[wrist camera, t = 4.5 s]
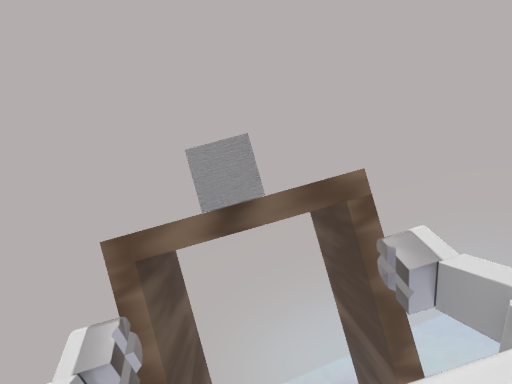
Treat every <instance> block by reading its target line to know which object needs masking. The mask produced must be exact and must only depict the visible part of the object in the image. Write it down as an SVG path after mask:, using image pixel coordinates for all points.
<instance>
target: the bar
mask: <svg viewBox="0 0 512 384" xmlns="http://www.w3.org/2000/svg"><path fill="white" fill-rule="evenodd" d="M185 152H186V156H187V159H188V163H189V167H190V170H191V174H192V178H193V181H194V185H195V188H196V192H197V196H198V199H199V203H200V207H201V210H202V213H204V212H208V211H213V210H217V209H221V208H225V207H228V206H232V205H235V204H239V203H243V202H246V201H250V200H253V199H256V198H259V197H262V196H264V195H265V193H264V190H263V186H262V183H261V179H260V176H259V172H258V169H257V165H256V162H255V158H254V154H253V150H252V147H251V143H250V140H249V136H248V133H247V134H243V135H240V136H235V137H231V138H228V139H224V140H220V141H216V142H213V143H209V144H205V145H202V146H198V147H194V148H190V149H186V150H185Z"/></svg>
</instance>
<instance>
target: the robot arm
mask: <svg viewBox="0 0 512 384" xmlns="http://www.w3.org/2000/svg"><path fill="white" fill-rule="evenodd" d="M377 250H378V252H379V253H380V254H381V255H380V257H379V258H378V260H377V263H378V270H379V273H380V276H381V278H382V280H383V282H384V283H385V284H386V286H387V287H388V288H389V289H391V290H394V291H396V299H397V300H398V302H399V303H400V304H401V305H402V307H403V308H404V309H405V311H406V312H407V313H408V314H409V315H410V314H413V313H417V312H420V311H423V310H427V309H430V308H434V307H436V309H438V310H439V311H441V312H443V313H445V314H447V315H448V316H450V317H452V318H454V319H456V320H458V321H460V322H462V323H463V324H465V325H467V326H469V327H471V328H473V329H475V330H476V331H478V332H480V333H482V334H484V335H486V336H488V337H489V338H491V339H493V340H495V341H497V342H499V343H501V344H500V348H499V353H497V354H494V355H492V356H489V357H486V358H483V359H480V360H477V361H474V362H471V363H468V364H465V365H462V366H459V367H456V368H453V369H450V370H447V371H444V372H441V373H438V374H435V375H432V376H429V377H426V378H423V379H420V380H417V381H414V382H411V383H408V384H512V268H511V267H508V266H504V265H501V264H497V263H494V262H491V261H487V260H484V259H481V258H477V257H474V256H470V255H467V254H462V255H459V254H458V253H457V252H456V251H455V250H453V249H452V248H451V247H450V246H448V245H447V244H446V243H445V242H444V241H443V240H441V239H440V238H439V237H438V236H437V235H435V234H434V233H433V232H432V231H431V230H429V229H428V228H427V227H426V226H422V225H421V226H418V227H415V228H412V229H409V230H407V231H403V232H400V233H397V234H394V235H390V236H387V237H384V238H381V239H378V240H377ZM130 325H131V324H130V323H129V321H128V320H127V318H126V317H120V318H116V319H112V320H109V321H106V322H102V323H98V324H95V325H91V326H89V327H85V328H81V329H78V330H74V331H73V332H72V333H71V334H70V335H69V338H68V340H67V343H66V346H65V349H64V351H63V354H62V357H61V359H60V362H59V365H58V368H57V370H56V373H55V375H54V378H53V381H52V382H51V383H48V384H139V383H140V379H139V377H138V376H137V374H136V373H137V371H138V370H139V369H140V367H141V366H142V358H143V355H142V346H141V343H140V340H139V338H138V336H137V334H135V333H133V332H130Z"/></svg>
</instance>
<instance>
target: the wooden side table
mask: <svg viewBox="0 0 512 384" xmlns="http://www.w3.org/2000/svg"><path fill="white" fill-rule="evenodd" d="M307 212H310V213H311V217H312V220H313V224H314V227H315V231H316V234H317V238H318V241H319V245H320V249H321V252H322V256H323V259H324V262H325V266H326V270H327V273H328V277H329V280H330V284H331V287H332V291H333V294H334V298H335V302H336V305H337V309H338V312H339V316H340V319H341V323H342V326H343V329H344V333H345V337H346V340H347V343H348V347H349V351H350V354H351V358H352V361H353V365H354V369H355V372H356V376H357V379H358V383H359V384H408V383H411V382H414V381H417V380H420V379H423V378H425V377H424V373H423V370H422V366H421V363H420V359H419V356H418V352H417V349H416V346H415V342H414V339H413V335H412V332H411V328H410V325H409V321H408V318H407V314H406V311H405V309H404V308H403V307H402V305H401V304H400V303H399V302H398V300H397V299H396V291H394V290H391V289H389V288H388V287H387V286H386V284H385V283H384V282H383V280H382V278H381V276H380V273H379V270H378V263H377V260H378V258H379V257H380V255H381V254H380V253H379V252H378V250H377V240H378V239H381V238H384V235H383V231H382V228H381V225H380V221H379V218H378V214H377V211H376V207H375V204H374V200H373V197H372V193H371V190H370V186H369V183H368V179H367V176H366V172H365V169H361V170H357V171H353V172H350V173H346V174H343V175H339V176H336V177H332V178H328V179H325V180H321V181H318V182H314V183H310V184H307V185H304V186H300V187H297V188H293V189H289V190H285V191H282V192H278V193H275V194H271V195H268V196H264V197H260V198H257V199H253V200H250V201H246V202H243V203H239V204H235V205H232V206H228V207H225V208H221V209H217V210H214V211H210V212H207V213H203V214H200V215H196V216H192V217H189V218H185V219H182V220H179V221H175V222H171V223H167V224H164V225H160V226H157V227H153V228H150V229H146V230H142V231H139V232H135V233H132V234H128V235H125V236H121V237H117V238H114V239H110V240H107V241H103V242H100V245H101V249H102V253H103V256H104V260H105V263H106V268H107V271H108V275H109V279H110V283H111V286H112V290H113V294H114V298H115V301H116V305H117V308H118V312H119V316H120V317H126V318H127V320H128V321H129V323H130V324H131V325H130V332H133V333H135V334H137V336H138V338H139V340H140V343H141V346H142V355H143V358H142V366H141V367H140V369H139V370H138V371H137V373H136V374H137V376H138V377H139V379H140V383H139V384H212V382H211V378H210V375H209V372H208V367H207V364H206V360H205V356H204V353H203V349H202V345H201V342H200V338H199V334H198V331H197V327H196V323H195V320H194V316H193V312H192V309H191V305H190V301H189V298H188V294H187V290H186V287H185V283H184V279H183V276H182V272H181V268H180V265H179V261H178V257H177V254H176V250H177V249H181V248H185V247H188V246H192V245H195V244H199V243H202V242H206V241H209V240H213V239H216V238H219V237H223V236H227V235H230V234H234V233H237V232H241V231H244V230H248V229H251V228H255V227H258V226H262V225H265V224H269V223H272V222H276V221H279V220H283V219H286V218H290V217H293V216H297V215H300V214H304V213H307Z"/></svg>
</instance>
